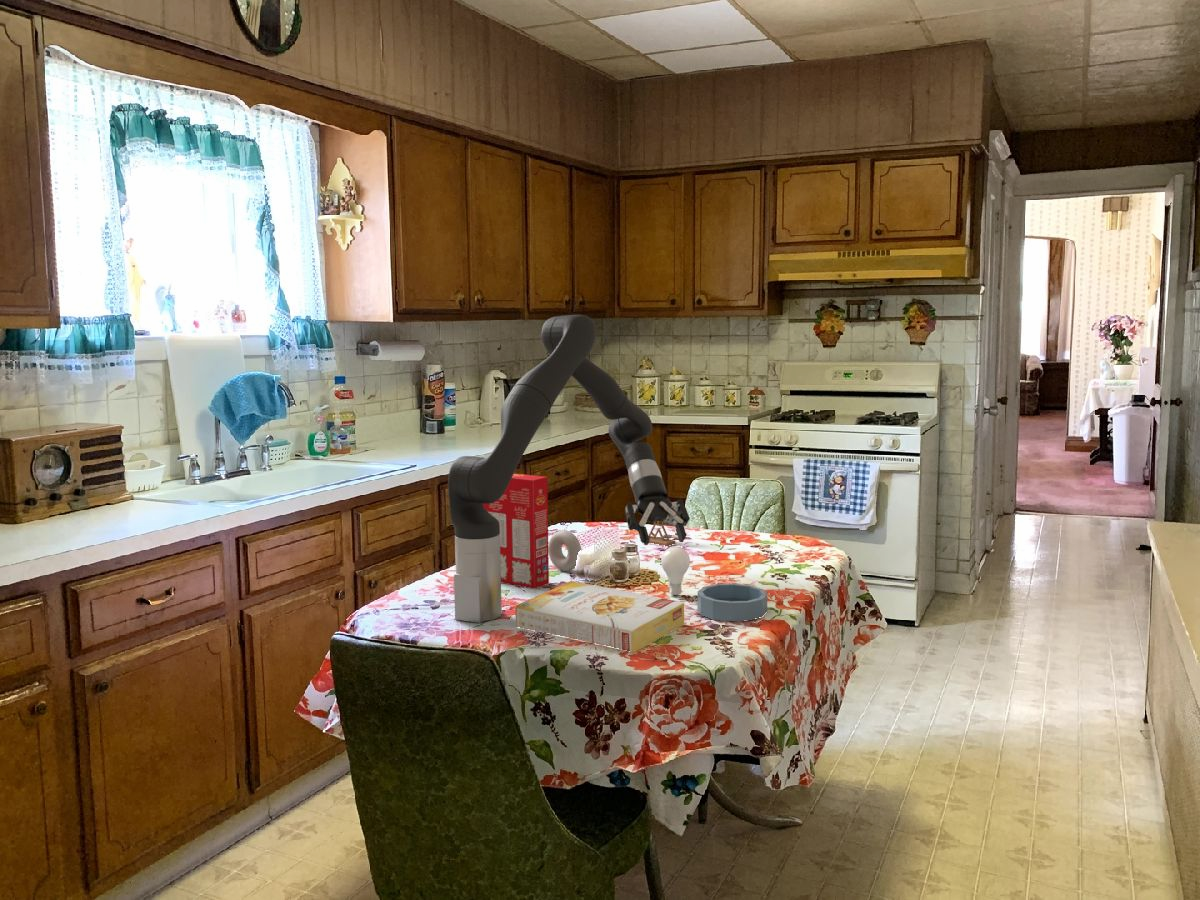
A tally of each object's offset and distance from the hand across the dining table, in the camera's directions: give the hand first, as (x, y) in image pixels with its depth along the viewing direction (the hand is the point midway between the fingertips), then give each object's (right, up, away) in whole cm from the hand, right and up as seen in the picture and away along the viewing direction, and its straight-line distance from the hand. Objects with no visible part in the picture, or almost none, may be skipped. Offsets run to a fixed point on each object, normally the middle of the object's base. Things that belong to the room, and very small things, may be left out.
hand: (665, 541), depth 227 cm
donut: (-23, -9, +17) cm, 30 cm away
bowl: (+13, -13, -16) cm, 24 cm away
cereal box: (-15, -15, -25) cm, 33 cm away
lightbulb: (+2, -12, -4) cm, 13 cm away
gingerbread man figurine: (+1, -5, +45) cm, 46 cm away
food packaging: (-34, -10, +8) cm, 37 cm away
